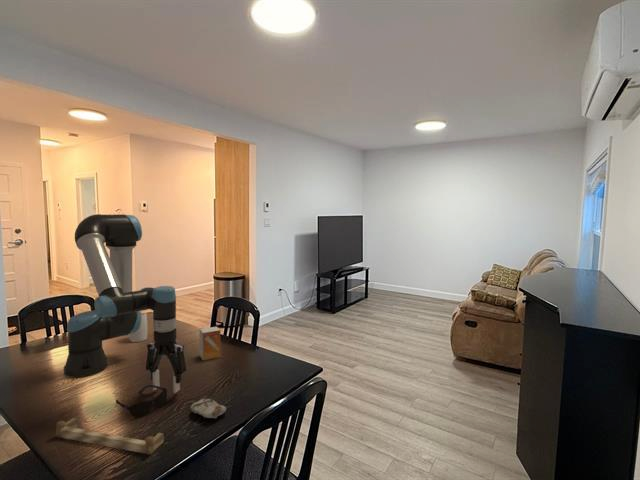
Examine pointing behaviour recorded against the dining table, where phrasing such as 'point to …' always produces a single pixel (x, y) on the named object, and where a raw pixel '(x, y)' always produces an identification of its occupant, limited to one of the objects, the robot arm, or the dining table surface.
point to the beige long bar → (108, 438)
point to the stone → (208, 408)
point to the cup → (140, 330)
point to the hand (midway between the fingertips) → (166, 389)
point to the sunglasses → (146, 403)
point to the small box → (209, 343)
